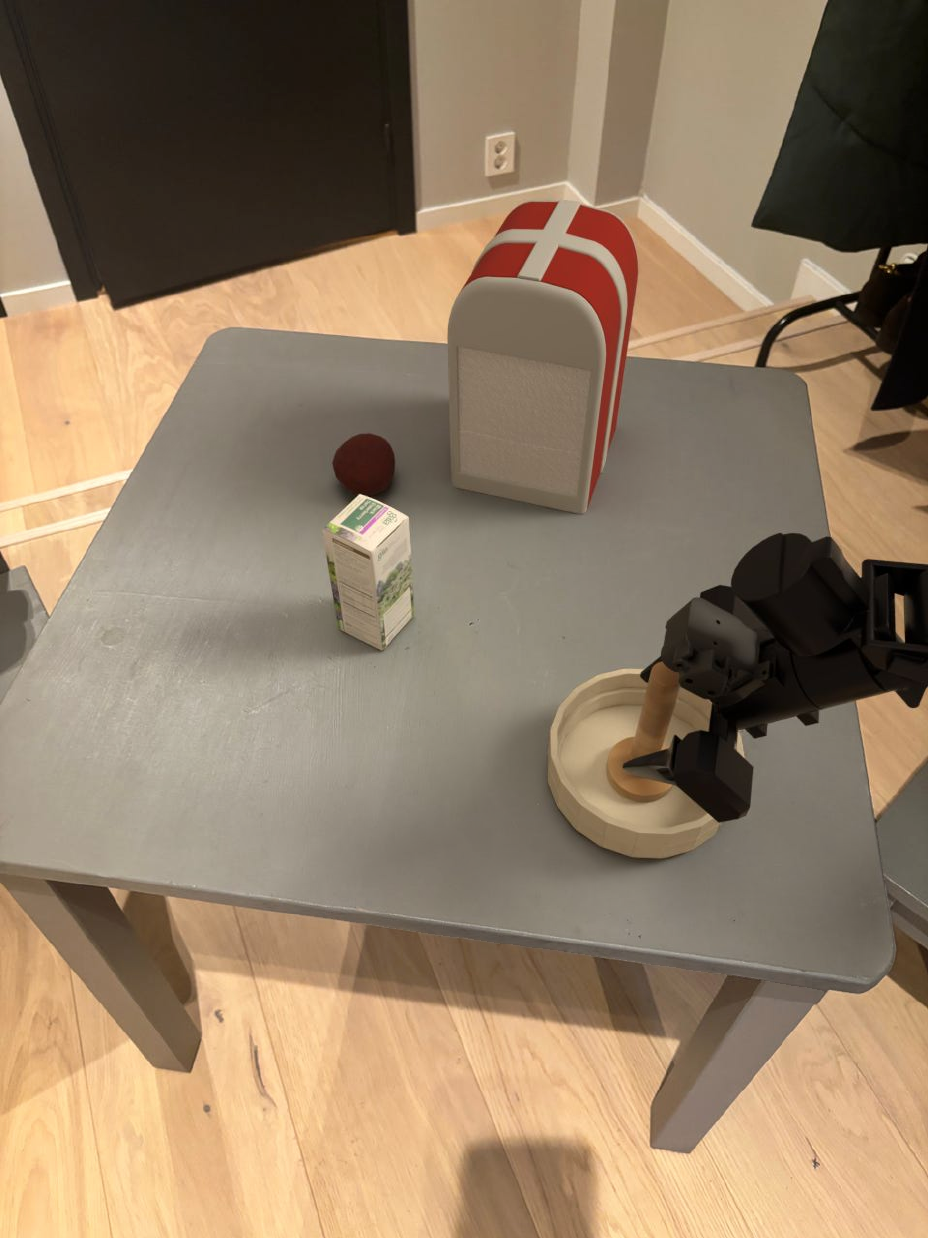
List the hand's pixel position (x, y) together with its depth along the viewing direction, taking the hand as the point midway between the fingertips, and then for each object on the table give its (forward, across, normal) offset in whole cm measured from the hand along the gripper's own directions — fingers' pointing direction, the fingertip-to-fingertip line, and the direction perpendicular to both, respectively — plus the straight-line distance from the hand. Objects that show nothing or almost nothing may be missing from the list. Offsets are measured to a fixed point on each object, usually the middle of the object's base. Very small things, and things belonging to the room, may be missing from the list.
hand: (634, 721), depth 74 cm
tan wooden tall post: (+4, 0, +6) cm, 8 cm away
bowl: (+5, 0, +7) cm, 8 cm away
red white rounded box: (+18, -41, -6) cm, 45 cm away
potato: (+31, -30, -19) cm, 47 cm away
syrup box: (+25, -10, -13) cm, 30 cm away
